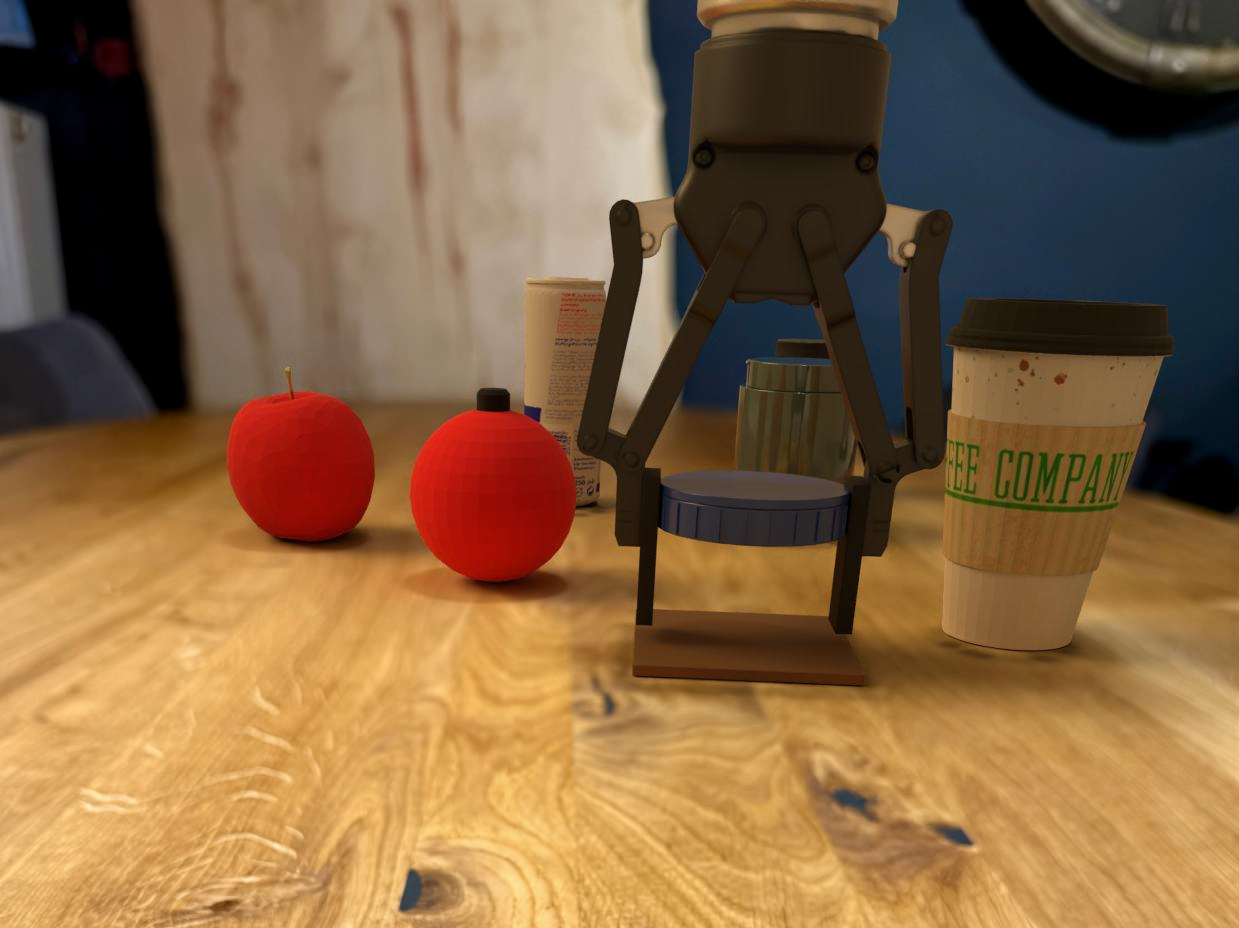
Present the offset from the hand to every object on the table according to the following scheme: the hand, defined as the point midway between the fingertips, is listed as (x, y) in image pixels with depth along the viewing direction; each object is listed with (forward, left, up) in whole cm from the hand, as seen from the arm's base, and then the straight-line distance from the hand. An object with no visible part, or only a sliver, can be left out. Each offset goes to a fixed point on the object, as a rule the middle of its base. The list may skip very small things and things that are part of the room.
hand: (741, 621), depth 59 cm
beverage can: (+11, -38, -2) cm, 40 cm away
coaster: (0, 0, -1) cm, 1 cm away
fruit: (+26, -22, -2) cm, 34 cm away
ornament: (+13, -12, -2) cm, 18 cm away
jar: (-5, -31, -1) cm, 31 cm away
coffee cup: (-14, -5, -2) cm, 14 cm away
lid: (0, 0, +6) cm, 6 cm away
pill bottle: (-7, -48, -2) cm, 49 cm away
